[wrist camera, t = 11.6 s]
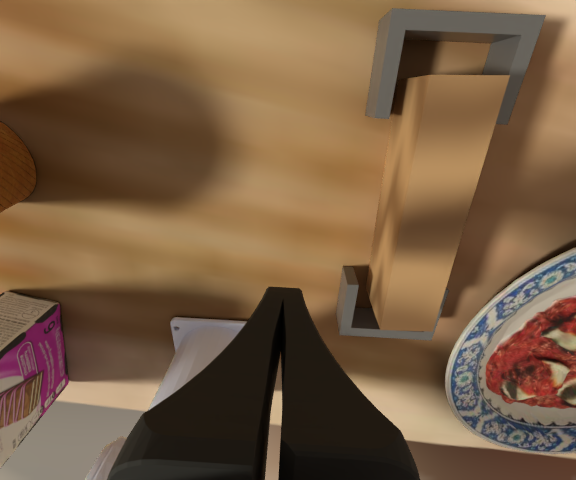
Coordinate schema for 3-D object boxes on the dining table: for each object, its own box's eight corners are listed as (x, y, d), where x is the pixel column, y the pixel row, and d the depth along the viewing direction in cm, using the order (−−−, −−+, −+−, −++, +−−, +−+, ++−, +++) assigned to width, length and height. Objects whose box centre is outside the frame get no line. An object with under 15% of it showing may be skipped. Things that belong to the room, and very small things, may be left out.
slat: (407, 287, 24) (432, 331, 20) (365, 286, 24) (380, 330, 20) (455, 80, 17) (509, 75, 13) (396, 80, 18) (430, 74, 13)
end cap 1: (419, 318, 25) (431, 340, 23) (335, 313, 25) (339, 334, 23) (434, 271, 23) (449, 290, 21) (342, 266, 23) (347, 284, 21)
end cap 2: (481, 120, 18) (507, 124, 16) (365, 115, 18) (374, 117, 16) (511, 26, 16) (545, 15, 14) (379, 20, 16) (392, 8, 14)
